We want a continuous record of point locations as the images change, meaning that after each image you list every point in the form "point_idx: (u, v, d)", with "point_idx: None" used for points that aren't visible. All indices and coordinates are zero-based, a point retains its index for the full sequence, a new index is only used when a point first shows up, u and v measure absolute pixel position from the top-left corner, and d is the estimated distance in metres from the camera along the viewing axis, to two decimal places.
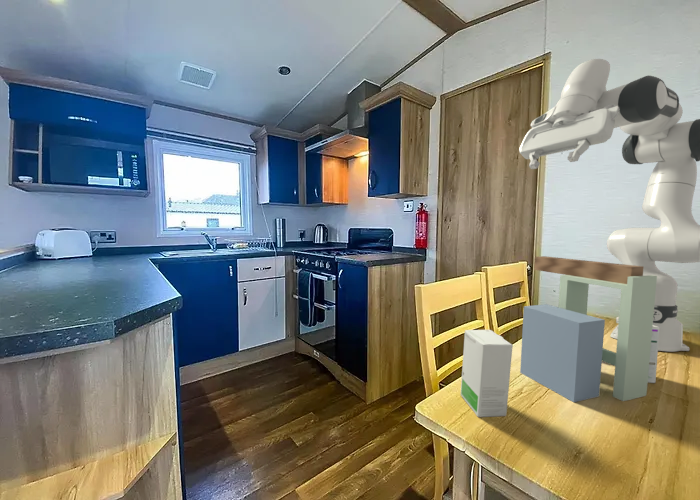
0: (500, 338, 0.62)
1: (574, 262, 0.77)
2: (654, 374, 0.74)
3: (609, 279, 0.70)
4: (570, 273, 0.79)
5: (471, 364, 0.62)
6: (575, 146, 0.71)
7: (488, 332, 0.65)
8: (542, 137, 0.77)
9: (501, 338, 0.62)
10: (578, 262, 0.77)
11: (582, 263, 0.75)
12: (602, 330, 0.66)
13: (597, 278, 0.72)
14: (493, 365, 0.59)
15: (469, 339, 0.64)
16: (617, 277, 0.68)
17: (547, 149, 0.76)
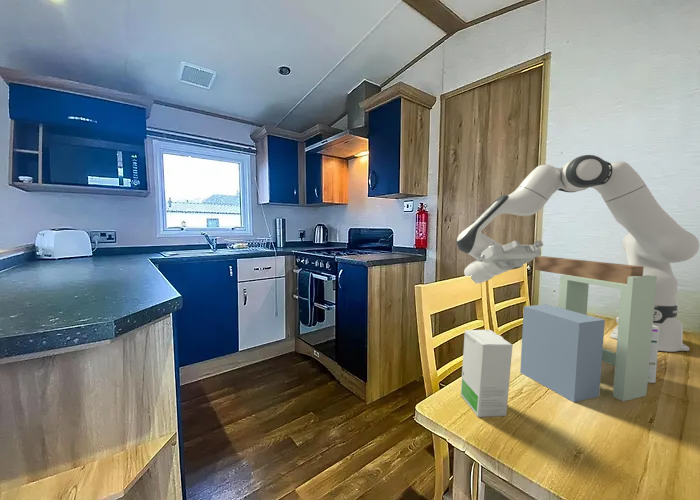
0: (500, 338, 0.62)
1: (574, 262, 0.77)
2: (654, 374, 0.74)
3: (609, 279, 0.70)
4: (570, 273, 0.79)
5: (471, 364, 0.62)
6: None
7: (488, 332, 0.65)
8: (522, 258, 1.00)
9: (501, 338, 0.62)
10: (578, 262, 0.77)
11: (582, 263, 0.75)
12: (602, 330, 0.66)
13: (597, 278, 0.72)
14: (493, 365, 0.59)
15: (469, 339, 0.64)
16: (617, 277, 0.68)
17: (523, 249, 0.98)
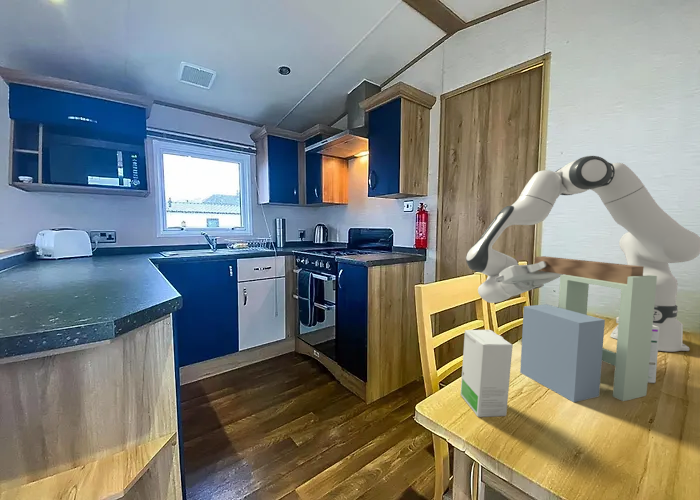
0: (500, 338, 0.62)
1: (574, 262, 0.77)
2: (654, 374, 0.74)
3: (609, 279, 0.70)
4: (570, 273, 0.79)
5: (471, 364, 0.62)
6: None
7: (488, 332, 0.65)
8: (543, 278, 0.92)
9: (501, 338, 0.62)
10: (578, 262, 0.76)
11: (582, 263, 0.75)
12: (602, 330, 0.66)
13: (597, 278, 0.72)
14: (493, 365, 0.59)
15: (469, 339, 0.64)
16: (617, 277, 0.68)
17: None
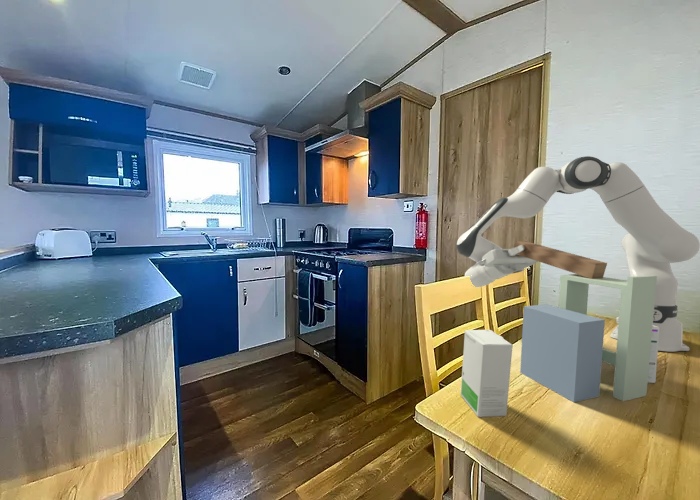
0: (500, 338, 0.62)
1: (549, 252, 0.84)
2: (654, 374, 0.74)
3: (575, 271, 0.77)
4: (544, 261, 0.86)
5: (471, 364, 0.62)
6: None
7: (488, 332, 0.65)
8: (523, 262, 0.99)
9: (502, 338, 0.62)
10: (552, 252, 0.83)
11: (556, 253, 0.82)
12: (602, 330, 0.66)
13: (565, 269, 0.80)
14: (493, 365, 0.59)
15: (469, 339, 0.64)
16: (582, 270, 0.75)
17: None
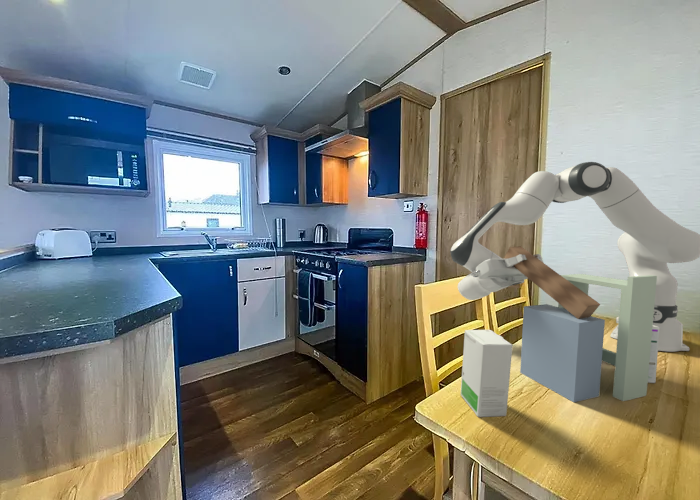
0: (500, 338, 0.62)
1: (541, 272, 0.75)
2: (654, 374, 0.74)
3: (563, 304, 0.70)
4: (533, 280, 0.77)
5: (471, 364, 0.62)
6: None
7: (488, 332, 0.65)
8: None
9: (501, 338, 0.62)
10: (545, 275, 0.74)
11: (548, 278, 0.73)
12: (602, 330, 0.66)
13: (554, 297, 0.72)
14: (493, 365, 0.59)
15: (469, 339, 0.64)
16: (571, 306, 0.68)
17: None
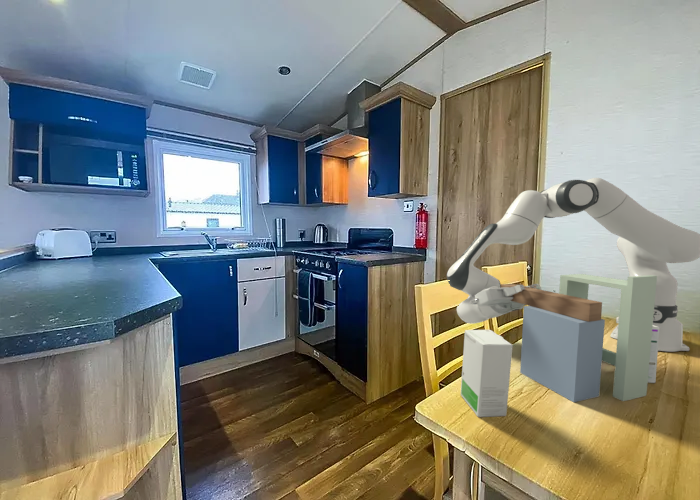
0: (500, 338, 0.62)
1: (536, 293, 0.76)
2: (654, 374, 0.74)
3: (569, 314, 0.68)
4: (533, 304, 0.77)
5: (471, 364, 0.62)
6: None
7: (488, 332, 0.65)
8: None
9: (501, 338, 0.62)
10: (540, 294, 0.75)
11: (544, 295, 0.74)
12: (602, 330, 0.66)
13: (558, 312, 0.71)
14: (493, 365, 0.59)
15: (469, 339, 0.64)
16: (577, 312, 0.67)
17: None
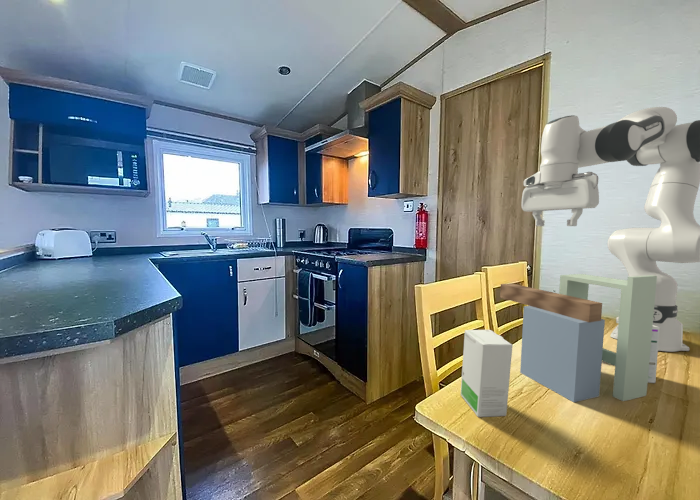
0: (500, 338, 0.62)
1: (537, 294, 0.76)
2: (654, 374, 0.74)
3: (569, 314, 0.68)
4: (533, 304, 0.77)
5: (471, 364, 0.62)
6: None
7: (488, 332, 0.65)
8: (538, 199, 0.87)
9: (501, 338, 0.62)
10: (540, 294, 0.75)
11: (544, 295, 0.74)
12: (602, 330, 0.66)
13: (558, 312, 0.71)
14: (493, 365, 0.59)
15: (469, 339, 0.64)
16: (577, 313, 0.67)
17: None
